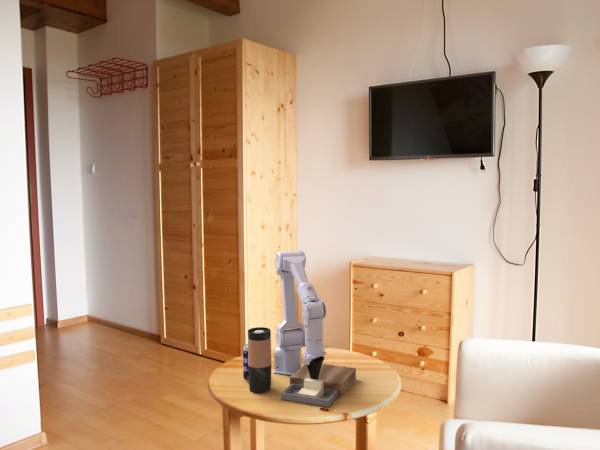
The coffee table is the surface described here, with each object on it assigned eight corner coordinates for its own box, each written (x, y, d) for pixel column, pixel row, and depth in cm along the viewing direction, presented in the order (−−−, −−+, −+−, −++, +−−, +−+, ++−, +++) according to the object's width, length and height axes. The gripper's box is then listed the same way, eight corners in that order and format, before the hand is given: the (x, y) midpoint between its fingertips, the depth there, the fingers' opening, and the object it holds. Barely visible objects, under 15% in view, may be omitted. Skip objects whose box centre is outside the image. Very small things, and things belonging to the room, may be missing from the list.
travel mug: (275, 386, 172) (274, 328, 170) (266, 395, 165) (265, 334, 163) (254, 383, 174) (253, 326, 173) (244, 392, 167) (243, 332, 166)
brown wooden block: (289, 388, 170) (289, 377, 169) (307, 372, 184) (307, 361, 184) (341, 396, 163) (341, 384, 162) (355, 379, 177) (355, 368, 177)
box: (280, 400, 161) (280, 393, 161) (292, 389, 169) (292, 383, 169) (328, 407, 155) (328, 400, 154) (338, 396, 163) (338, 389, 163)
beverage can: (243, 376, 181) (243, 343, 180) (259, 376, 182) (259, 343, 181) (243, 382, 176) (242, 348, 175) (259, 382, 176) (259, 347, 175)
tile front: (302, 387, 164) (302, 393, 164) (297, 393, 160) (297, 399, 160) (320, 390, 162) (320, 396, 162) (315, 395, 158) (315, 402, 158)
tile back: (306, 391, 166) (304, 393, 164) (306, 378, 166) (303, 380, 164) (323, 394, 164) (321, 396, 162) (323, 380, 163) (321, 383, 162)
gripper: (317, 346, 156) (318, 389, 157) (333, 333, 170) (333, 373, 171) (296, 343, 159) (297, 386, 160) (313, 331, 172) (313, 370, 173)
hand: (314, 379), depth 165 cm, fingers closed
